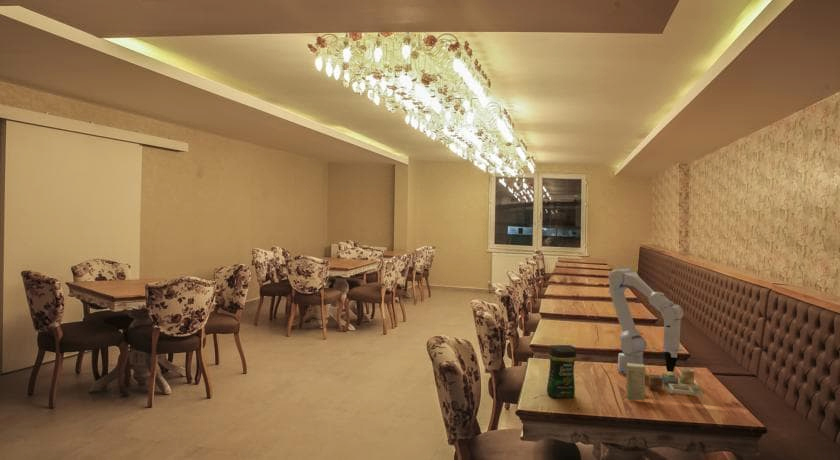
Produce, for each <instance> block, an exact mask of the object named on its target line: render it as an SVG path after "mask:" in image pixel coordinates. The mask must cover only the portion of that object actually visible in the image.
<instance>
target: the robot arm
mask: <svg viewBox="0 0 840 460" xmlns="http://www.w3.org/2000/svg"><path fill="white" fill-rule="evenodd" d="M608 281H609V288H608V289H609V290H608V291H609V295H610V297H611V300H612V303H613V306H614V309H615V313H616V317H617V319H618V323H619V325H620V326H619V327H620V328H621V329H620V330H621V332H622V333H621V334H620V337H619V339H620V350H621V351H622V352H619V353H618V356H617V357H618V358H617V359H618V360H617V363H618V364H617V369H616V370H617V372H618V374H621V375H627V363H635V364H643V361H644V359H643V357H644V351H645V350H646V349H647V346H648V345H647V341H646V339H645V338H644V337H643V335H642V333H641V332H640V331H639V330H638V329H637V328H636V326H635V322H634V318H633V316H632V313H631V309H630V307H629V304H628V301H627V298H626V295H625V291H626V290H627V288H628V287H629V286H631V287H634V288H635V289H636V290H638V291H639V292H640V293H642V294H643V295H644V296H646V297H647V298H648V303H649V304H650V305H651V306H653V307H654V308H655V309H656V310H657V311H659V313H661V317H662V319H663V339H662V340H663V341H662V344H663V345H662V350H664V351H662V352H661V353H662V355H663V357H664V362H665V369H666V371H667V372H672V373H673V372H674V371H675V367H676V364H677V362H678V360H679V358H680V354H679V353H680V351H681V352H683V350H684V349H683V348H682V347H680V345H681V344H680V343H681V342H680V341H681V339H680V338H681V324H682V323H681V322H682V321H681V319H682V318H684V315H685V311H684V309H683V308H682V306H681V305H680V304H675V303H674V302H673V301H671V300H670V299H669V298H667V297H666V296H665V293H663V292H660V291H655V290H653V288H651V287H650V286H649V285H648V284H647V283H646V282H645V281H644V279H642V278H641V277H640V276H639V274H638V273H637V272H635V271H634V270H633V269H632V268H628V267H627V268H621V269H617V268H616V269H612V271H611V272H610V273H609V275H608Z"/></svg>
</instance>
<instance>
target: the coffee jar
mask: <svg viewBox="0 0 840 460" xmlns="http://www.w3.org/2000/svg"><path fill="white" fill-rule="evenodd" d="M576 350H577V349H576V347H575V346H573V345H571V344H550V346H549V349H548V358H549V370H548V372H549V373H548V379H547V384H546V385H547V386H546V392H547V394H548V395H549V396H550V397H553V398H554V399H555V398H556V399H569V398H570V399H571V398H574V397H575V395H576V393H575V391H576V389H575V386H576V385H575V373H574V372H575V371H574V369H575V362H576V360H577V351H576Z"/></svg>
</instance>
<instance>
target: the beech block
mask: <svg viewBox="0 0 840 460" xmlns="http://www.w3.org/2000/svg"><path fill="white" fill-rule="evenodd" d="M679 379H680V383H681V384H690V385H694V380H695V370H694V369H692V368H686V367H680V378H679Z"/></svg>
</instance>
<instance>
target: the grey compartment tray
mask: <svg viewBox="0 0 840 460" xmlns="http://www.w3.org/2000/svg"><path fill="white" fill-rule="evenodd" d="M663 386H664V388H665V390H666V392H667V394H677V395H686V396H696V397H704V394H703V393H702V392H701V390H700V386H699V384H698V382H697V381H696V380H695V379H694V385H690V384H681V383H680V378H678V384H670V383H668V385H664V384H663Z"/></svg>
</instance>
